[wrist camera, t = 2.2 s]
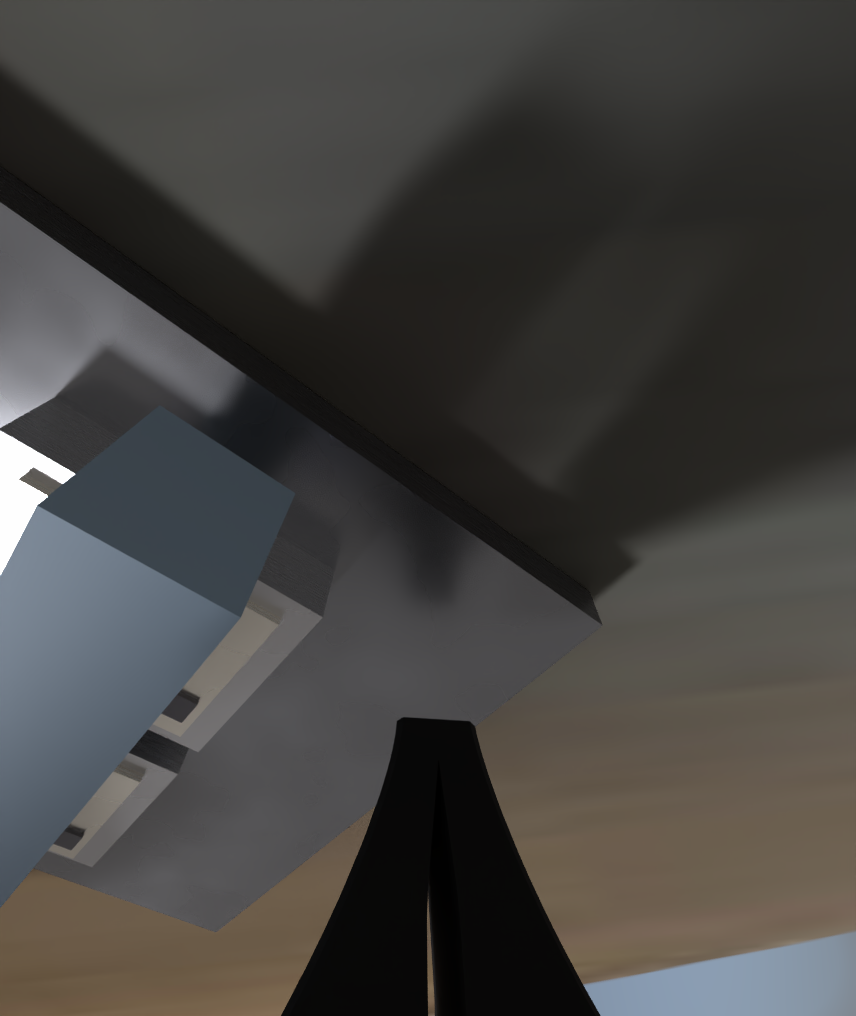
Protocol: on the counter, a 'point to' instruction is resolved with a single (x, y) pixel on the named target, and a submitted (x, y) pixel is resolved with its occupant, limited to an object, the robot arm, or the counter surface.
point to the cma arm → (117, 614)
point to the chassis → (277, 593)
